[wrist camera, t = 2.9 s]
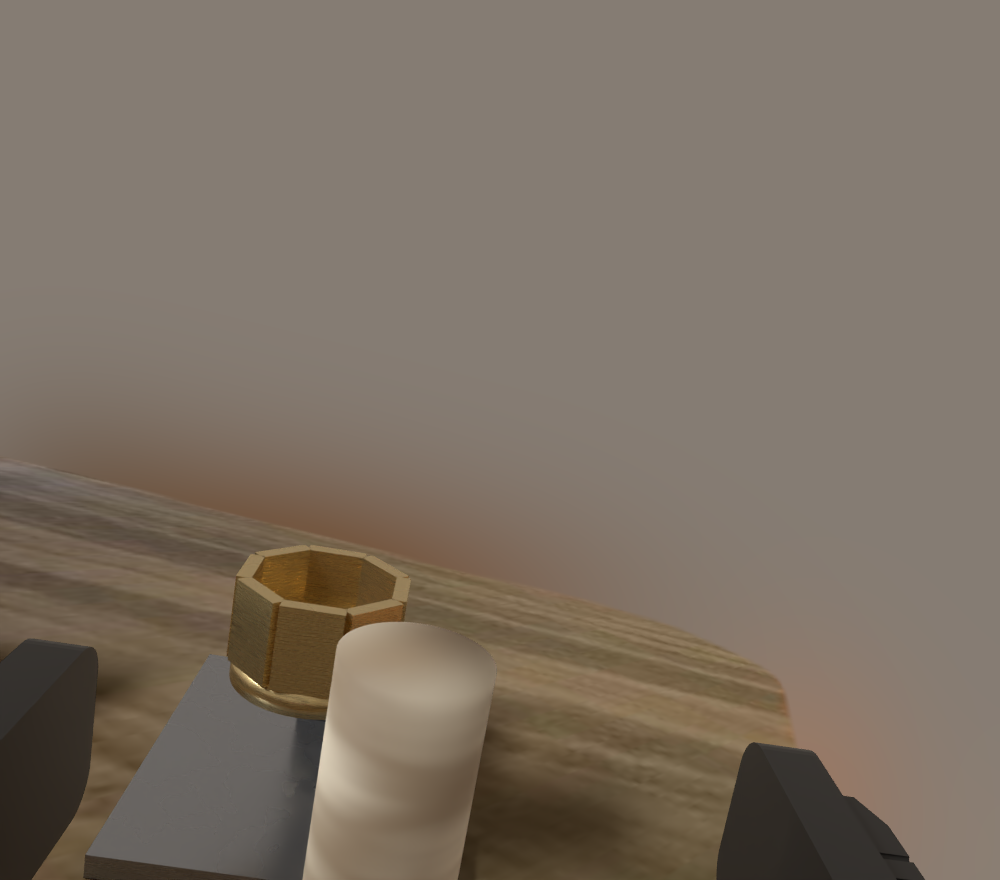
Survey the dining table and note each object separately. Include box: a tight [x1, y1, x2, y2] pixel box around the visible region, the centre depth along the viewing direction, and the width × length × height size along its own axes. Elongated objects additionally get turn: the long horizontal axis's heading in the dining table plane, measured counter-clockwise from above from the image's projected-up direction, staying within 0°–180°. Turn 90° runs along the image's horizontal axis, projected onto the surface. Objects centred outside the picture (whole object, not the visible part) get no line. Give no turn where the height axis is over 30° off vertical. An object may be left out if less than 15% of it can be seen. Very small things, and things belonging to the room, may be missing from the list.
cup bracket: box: [83, 545, 411, 880], centre depth 43 cm, size 17×14×12 cm
